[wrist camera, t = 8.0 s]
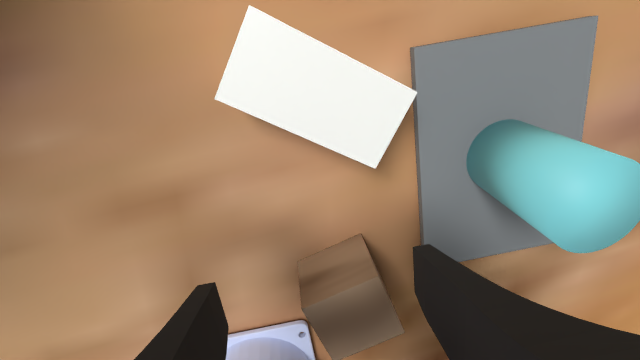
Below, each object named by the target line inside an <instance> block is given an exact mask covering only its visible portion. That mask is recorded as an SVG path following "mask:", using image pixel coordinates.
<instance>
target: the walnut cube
mask: <svg viewBox="0 0 640 360" xmlns="http://www.w3.org/2000/svg"><path fill="white" fill-rule="evenodd" d="M298 272H299V284H300V297H301V309H302V311H303V313H304V314H305V316H306V317H307V319H308V321H309V322H310V324H311V326H312V327H313V329H314V330H315V332H316V334H317V335H318V337H319V339H320V340H321V342H322V343H323V345H324V347H325V348H326V350H327V352H328V353H329V355H330V356H331V358H332V360H341V359H343V358H346V357H348V356H350V355H353V354H355V353H358V352H360V351H362V350H365V349H367V348H370V347H372V346H374V345H377V344H379V343H382V342H384V341H386V340H389V339H391V338H393V337H396V336H398V335H401V334H403V333H405V332H404V329H403V327H402V325H401V322H400V320H399V318H398V315H397V313H396V310H395V308H394V306H393V303H392V301H391V299H390V296H389V294H388V292H387V289H386V287H385V285H384V282H383V280H382V278H381V276H380V274H379V272H378V270H377V267H376V265H375V263H374V261H373V259H372V257H371V254H370V252H369V250H368V248H367V246H366V244H365V242H364V239H363V237H362V235H361V234H358V235H356V236H354V237H352V238H349V239H347V240H345V241H342V242H340V243H338V244H336V245H333V246H331V247H329V248H327V249H324V250H322V251H320V252H318V253H315V254H313V255H311V256H309V257H306V258H304V259H302V260H300V261H298Z"/></svg>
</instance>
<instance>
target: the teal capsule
mask: <svg viewBox="0 0 640 360" xmlns="http://www.w3.org/2000/svg"><path fill="white" fill-rule="evenodd" d="M466 165H467V171H468V174H469V176H470V178H471V179H472V180H473V181H474V182H475V183H476V184H477V185H478V186H480V187H481V188H482V189H483V190H485V191H486V192H487V193H489V194H490V195H491V196H493V197H494V198H495V199H497V200H498V201H499V202H501V203H502V204H503V205H505V206H506V207H507V208H509V209H510V210H511V211H513V212H514V213H515V214H517V215H518V216H519V217H521V218H522V219H523V220H525V221H526V222H527V223H528V224H530V225H531V226H532V227H534V228H535V229H536V230H538V231H539V232H540V233H542V234H543V235H544V236H546V237H547V238H548V239H550V240H551V241H552V242H554V243H555V244H556V245H558V246H559V247H561V248H562V249H564V250H567V251H569V252H574V253H589V252H594V251H598V250H601V249H604V248H606V247H608V246H610V245H612V244H614V243H616V242H617V241H619V240H620V239H622V238H623V237H624V236H625V235H627V234H628V233H629V232H630V231H631V230H632V229H633V228H634V227H635V226H636V224H637V223H638V222H639V220H640V164H639V163H638V162H636V161H634V160H632V159H629V158H626V157H624V156H621V155H618V154H615V153H612V152H609V151H606V150H603V149H600V148H597V147H595V146H592V145H589V144H586V143H583V142H580V141H577V140H574V139H571V138H568V137H566V136H563V135H560V134H557V133H554V132H551V131H548V130H545V129H542V128H540V127H537V126H534V125H531V124H528V123H525V122H522V121H519V120H514V119H506V120H501V121H498V122H495V123H493V124H491V125H489V126H487V127H486V128H485V129H483V130H482V131H481V132H480V133H479V134H478V135H477V136H476V138H475V139H474V140H473V142H472V144H471V146H470V148H469V150H468V154H467V160H466Z"/></svg>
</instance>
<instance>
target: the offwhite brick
mask: <svg viewBox="0 0 640 360" xmlns="http://www.w3.org/2000/svg"><path fill="white" fill-rule="evenodd" d="M416 94H417V92H416V91H414V90H412V89H411V88H409V87H407V86H405V85H403V84H401V83H399V82H397V81H395V80H393V79H391V78H389V77H387V76H385V75H383V74H382V73H380V72H378V71H376V70H374V69H372V68H370V67H368V66H366V65H364V64H362V63H360V62H358V61H356V60H354V59H353V58H351V57H349V56H347V55H345V54H343V53H341V52H339V51H337V50H335V49H333V48H331V47H329V46H327V45H325V44H323V43H322V42H320V41H318V40H316V39H314V38H312V37H310V36H308V35H306V34H304V33H302V32H300V31H298V30H296V29H294V28H293V27H291V26H289V25H287V24H285V23H283V22H281V21H279V20H277V19H275V18H273V17H271V16H269V15H267V14H265V13H264V12H262V11H260V10H258V9H256V8H254V7H252V6H250V5H249V7H248V10H247V13H246V15H245V18H244V21H243V23H242V26H241V29H240V32H239V34H238V37H237V40H236V42H235V45H234V48H233V50H232V53H231V56H230V58H229V61H228V64H227V67H226V69H225V72H224V75H223V77H222V80H221V83H220V85H219V88H218V91H217V93H216V96H215V99H216V100H218V101H220V102H223V103H225V104H227V105H230V106H232V107H234V108H237V109H239V110H241V111H243V112H246V113H248V114H250V115H253V116H255V117H257V118H260V119H262V120H264V121H266V122H269V123H271V124H273V125H276V126H278V127H280V128H282V129H285V130H287V131H289V132H292V133H294V134H296V135H299V136H301V137H303V138H305V139H308V140H310V141H312V142H315V143H317V144H319V145H322V146H324V147H326V148H328V149H331V150H333V151H335V152H338V153H340V154H342V155H345V156H347V157H349V158H351V159H354V160H356V161H358V162H361V163H363V164H365V165H368V166H370V167H372V168H374V169H376V167H377V165H378V163H379V161H380V160H381V158H382V156H383V154H384V152H385V150H386V149H387V147H388V145H389V143H390V141H391V140H392V138H393V136H394V134H395V132H396V131H397V129H398V127H399V125H400V123H401V121H402V120H403V118H404V116H405V114H406V112H407V111H408V109H409V107H410V105H411V103H412V102H413V100H414V98H415V96H416Z"/></svg>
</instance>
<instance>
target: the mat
mask: <svg viewBox="0 0 640 360" xmlns="http://www.w3.org/2000/svg"><path fill="white" fill-rule="evenodd" d="M597 22H598V16H588V17H582V18H577V19H571V20H565V21H560V22H554V23H548V24H542V25H537V26H531V27H525V28H520V29H514V30H508V31H502V32H497V33H491V34H485V35H480V36H474V37H468V38H463V39H457V40H451V41H445V42H440V43H434V44H428V45H423V46H417V47H411V48H410V55H411V73H412V90H414V91H416V92H417V94H416V96H415V98H414V100H413V109H414V127H415V145H416V163H417V182H418V200H419V218H420V236H421V245H426V244H430V245H432V246H433V247H435V248H437V249H438V250H440V251H441V252H443V253H444V254H446V255H447V256H449V257H451V258H452V259H454V260H455V261H457V262H461V261H466V260H471V259H476V258H481V257H486V256H491V255H496V254H501V253H506V252H511V251H516V250H521V249H526V248H531V247H536V246H541V245H546V244H551V243H554V242H552V241H551V240H550V239H548V238H547V237H546V236H544V235H543V234H542V233H540V232H539V231H538V230H536V229H535V228H534V227H532V226H531V225H530V224H528V223H527V222H526V221H525V220H523V219H522V218H521V217H519V216H518V215H517V214H515V213H514V212H513V211H511V210H510V209H509V208H507V207H506V206H505V205H503V204H502V203H501V202H499V201H498V200H497V199H495V198H494V197H493V196H491V195H490V194H489V193H487V192H486V191H485V190H483V189H482V188H481V187H480V186H478V185H477V184H476V183H475V182H474V181H473V180H472V179H471V178H470V176H469V174H468V171H467V165H466V160H467V154H468V150H469V148H470V146H471V144H472V142H473V140H474V139H475V138H476V136H477V135H478V134H479V133H480V132H481V131H482V130H483V129H485V128H486V127H487V126H489V125H491V124H493V123H495V122H498V121H501V120H506V119H514V120H519V121H522V122H525V123H528V124H531V125H534V126H537V127H540V128H542V129H545V130H548V131H551V132H554V133H557V134H560V135H563V136H566V137H568V138H571V139H574V140H577V141H580V142H581V141H582V134H583V126H584V119H585V111H586V104H587V96H588V89H589V82H590V74H591V67H592V59H593V52H594V44H595V37H596V29H597Z"/></svg>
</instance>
